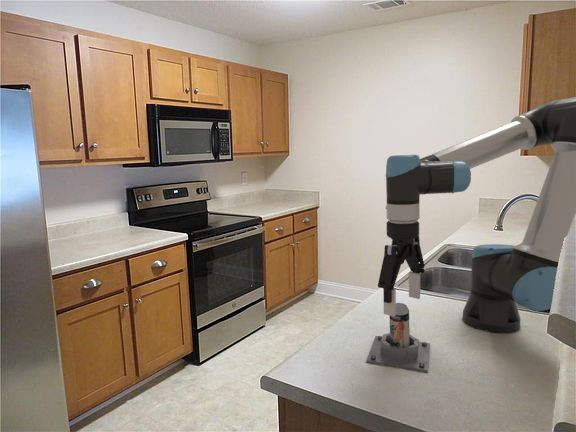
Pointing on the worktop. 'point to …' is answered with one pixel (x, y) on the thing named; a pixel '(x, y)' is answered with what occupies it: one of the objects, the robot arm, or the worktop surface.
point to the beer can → (400, 326)
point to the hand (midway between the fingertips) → (402, 305)
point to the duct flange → (400, 354)
